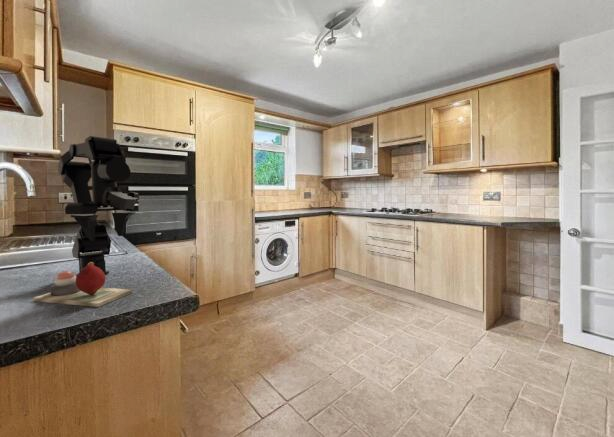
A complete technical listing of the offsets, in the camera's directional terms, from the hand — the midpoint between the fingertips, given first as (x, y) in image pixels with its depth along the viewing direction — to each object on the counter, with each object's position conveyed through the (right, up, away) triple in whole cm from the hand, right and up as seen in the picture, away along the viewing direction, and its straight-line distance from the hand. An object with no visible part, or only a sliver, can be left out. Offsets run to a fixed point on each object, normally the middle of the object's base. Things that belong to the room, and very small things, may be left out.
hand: (106, 238), depth 83 cm
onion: (+5, -13, -12) cm, 18 cm away
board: (+2, -14, -11) cm, 17 cm away
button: (-4, -11, -10) cm, 15 cm away
